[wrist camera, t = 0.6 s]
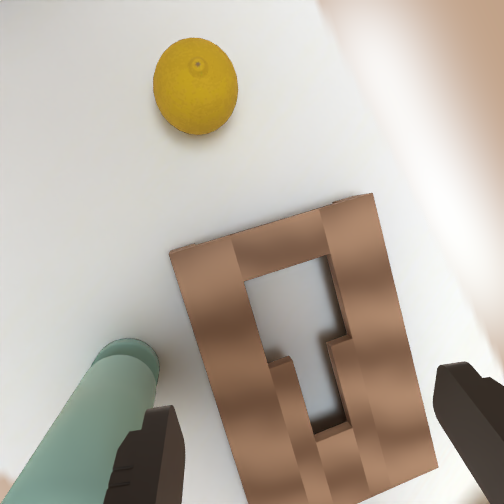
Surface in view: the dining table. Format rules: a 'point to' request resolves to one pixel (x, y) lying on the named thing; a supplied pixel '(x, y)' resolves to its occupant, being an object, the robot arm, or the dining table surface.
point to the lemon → (195, 86)
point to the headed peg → (91, 429)
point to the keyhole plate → (283, 371)
